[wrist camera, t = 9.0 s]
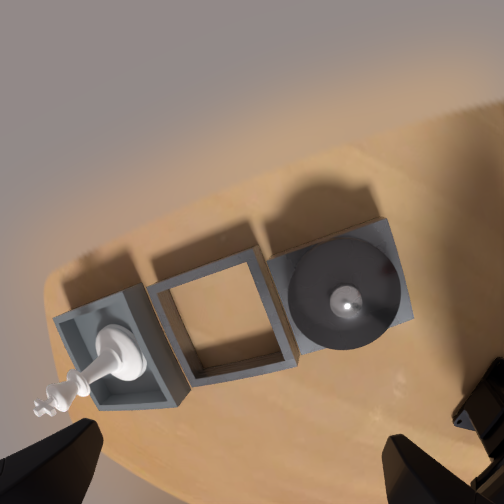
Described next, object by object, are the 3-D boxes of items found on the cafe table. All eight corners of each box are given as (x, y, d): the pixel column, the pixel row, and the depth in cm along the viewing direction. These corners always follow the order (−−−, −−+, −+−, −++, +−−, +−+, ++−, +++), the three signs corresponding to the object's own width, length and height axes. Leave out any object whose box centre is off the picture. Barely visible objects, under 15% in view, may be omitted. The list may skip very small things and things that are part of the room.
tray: (141, 282, 22) (122, 291, 19) (191, 389, 22) (177, 407, 20) (71, 309, 24) (52, 318, 22) (113, 397, 25) (99, 410, 22)
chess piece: (96, 317, 23) (4, 365, 13) (144, 331, 21) (51, 397, 12) (103, 368, 23) (25, 424, 14) (149, 384, 22) (73, 457, 13)
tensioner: (375, 202, 17) (388, 201, 13) (409, 319, 18) (425, 346, 14) (158, 281, 21) (125, 297, 17) (200, 376, 22) (178, 405, 18)
